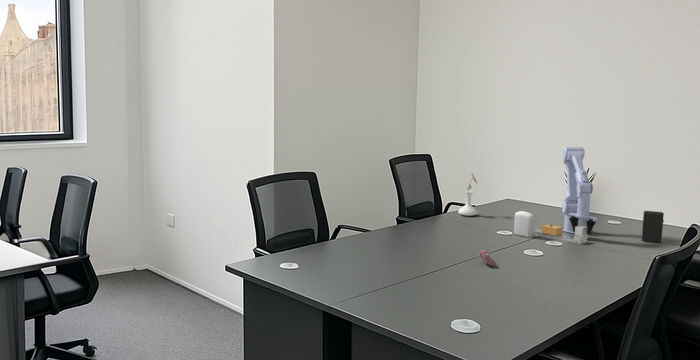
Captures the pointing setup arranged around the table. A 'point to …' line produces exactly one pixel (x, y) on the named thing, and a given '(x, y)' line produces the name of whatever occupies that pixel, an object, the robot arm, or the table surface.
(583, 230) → the block
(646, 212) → the card reader
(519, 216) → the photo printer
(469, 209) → the flower in vase
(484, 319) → the table surface
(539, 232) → the mounting rail
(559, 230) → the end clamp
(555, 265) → the table surface
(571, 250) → the table surface
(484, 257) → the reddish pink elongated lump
